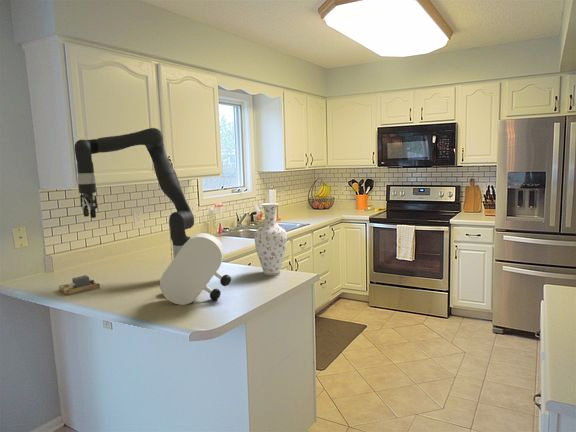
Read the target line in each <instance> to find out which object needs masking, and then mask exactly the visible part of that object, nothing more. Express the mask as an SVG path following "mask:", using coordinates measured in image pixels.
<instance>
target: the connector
mask: <svg viewBox="0 0 576 432" xmlns="http://www.w3.org/2000/svg"><path fill="white" fill-rule="evenodd" d="M89 280H90V277H89V276H88V275H86V274H85V275H81V276H77V277H73V278H72V280H71V281H72V282H70V283H67V284H68V285H69V286H70V287H72V286H73V288H79V287H84V286H88V285H90V283H92V282H94V281H95V280H94V279H91V280H90V281H89Z"/></svg>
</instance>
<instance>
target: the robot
mask: <svg viewBox="0 0 576 432" xmlns="http://www.w3.org/2000/svg"><path fill="white" fill-rule="evenodd" d="M190 237H191V238H190V239H189V240H188V241H187V242H186V243H185V244H184V245H183V247H182V248H181V250H180V251H179V252H178V254H177V255H176V256H175V258H172V260H171V262H170V264H168V265H167V268H166V269H165V271H164V272H162V275H161V277H160V281H159V289H160V291H161V293H162V295H163V296H164V297H165V299H167V300H168V301H169V302H171V303H173V304H176V305H183V306H184V305H185V306H186V305H188V304H191V303H192V302H194V301H195V300H196V299H197V298H198V297H199V296H200V295H201V293H202V292H203V290H204V291H205V292H207V293H208V294H209V297H210V299H211V300H212V301H217V300H219V299H220V297H221V290H220V289H219V288H214V289H212V288H211V287H209V286H208V284H209V282H210V280H211V279H212V278H213V277H214V276H215V277H216V278H218V280H220V282H219V283H220V285H221V286H222V287H227V286H229V285H230V283H231V282H232V277H231V276H230V275H229V274H221V273H220V272H218V271H219V268H220V267H221V265H222V262H223V260H224V257H225V248H224V246H223V244H222V242H221V241H220V240H219V238H217V237H216V236H214V235H212V234H210V233H206V232H201V233H197V234H194V235H193V236H190Z"/></svg>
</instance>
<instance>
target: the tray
mask: <svg viewBox="0 0 576 432" xmlns="http://www.w3.org/2000/svg"><path fill="white" fill-rule="evenodd" d="M90 280H92V279H90V278H89V281H90ZM68 284H69V283H67V284H66V283H65V284H61V285H59V286H58V288H59V289H58V290H59V291H60V292H61V293H63V294H64V295H66V296H72V295H76V294H81V293H85V292H89V291H94V290H99V289H101V287H100V283H99V282H97V281H95V280H94V282H92V283H90V285H88V286H84V287H79V288H73V286H72V287H70V286H69V285H68Z"/></svg>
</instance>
